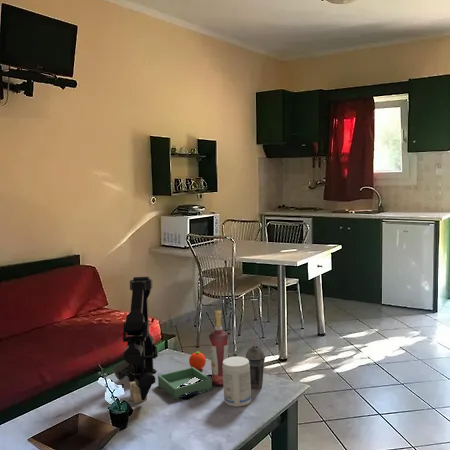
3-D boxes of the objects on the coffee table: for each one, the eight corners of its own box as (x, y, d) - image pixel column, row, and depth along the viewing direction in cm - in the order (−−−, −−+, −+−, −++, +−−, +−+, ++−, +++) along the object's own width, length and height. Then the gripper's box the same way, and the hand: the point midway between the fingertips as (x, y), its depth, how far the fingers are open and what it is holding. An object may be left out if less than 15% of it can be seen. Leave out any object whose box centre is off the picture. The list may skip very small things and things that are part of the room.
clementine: (191, 364, 216) (191, 348, 215) (208, 365, 215) (207, 348, 214) (187, 372, 208) (187, 355, 208) (204, 372, 207) (204, 355, 207)
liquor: (231, 386, 193) (228, 313, 190) (211, 387, 192) (209, 314, 189) (228, 378, 200) (226, 308, 198) (209, 380, 199) (207, 309, 197)
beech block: (130, 398, 186) (129, 382, 185) (142, 395, 188) (141, 379, 187) (135, 403, 182) (134, 386, 181) (147, 399, 184) (146, 383, 183)
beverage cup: (266, 383, 195) (264, 332, 193) (265, 391, 188) (264, 338, 185) (246, 383, 195) (245, 332, 193) (245, 391, 188) (244, 338, 186)
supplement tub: (250, 395, 185) (249, 355, 184) (252, 407, 176) (251, 365, 174) (223, 396, 185) (221, 356, 183) (224, 408, 175) (222, 366, 174)
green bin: (158, 385, 196) (158, 375, 195) (193, 376, 203) (193, 366, 203) (175, 400, 183) (175, 389, 182) (212, 389, 191) (211, 379, 190)
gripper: (106, 350, 187) (108, 392, 189) (123, 366, 171) (126, 411, 173) (135, 344, 193) (137, 384, 194) (155, 359, 177) (157, 403, 178)
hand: (138, 395), depth 185 cm, fingers open, 9 cm apart
